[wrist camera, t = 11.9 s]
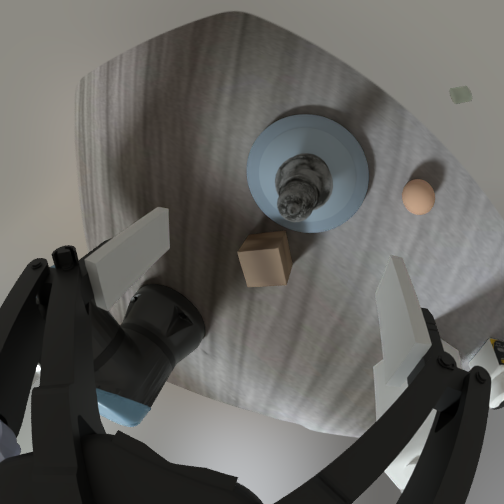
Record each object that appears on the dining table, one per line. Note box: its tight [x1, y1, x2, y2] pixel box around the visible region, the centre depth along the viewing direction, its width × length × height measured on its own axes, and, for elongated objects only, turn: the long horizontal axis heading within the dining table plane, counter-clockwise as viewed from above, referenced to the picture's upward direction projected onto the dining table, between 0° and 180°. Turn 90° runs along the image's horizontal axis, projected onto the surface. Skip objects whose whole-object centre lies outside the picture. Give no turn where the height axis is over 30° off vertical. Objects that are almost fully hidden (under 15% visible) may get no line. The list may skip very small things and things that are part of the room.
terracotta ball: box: [402, 179, 435, 215], centre depth 27 cm, size 4×4×4 cm
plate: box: [247, 114, 369, 233], centre depth 31 cm, size 14×14×1 cm
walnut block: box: [237, 230, 293, 287], centre depth 35 cm, size 5×5×5 cm
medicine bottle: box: [469, 338, 504, 409], centre depth 30 cm, size 7×7×12 cm
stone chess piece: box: [275, 153, 333, 222], centre depth 25 cm, size 6×6×12 cm
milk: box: [373, 338, 463, 493], centre depth 29 cm, size 12×12×26 cm
